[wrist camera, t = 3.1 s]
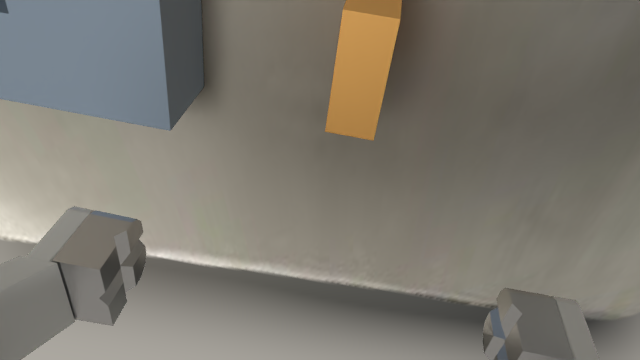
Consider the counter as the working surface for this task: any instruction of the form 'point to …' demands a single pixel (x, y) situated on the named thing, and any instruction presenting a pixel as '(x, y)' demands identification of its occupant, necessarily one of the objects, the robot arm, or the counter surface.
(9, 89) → the blue holed block
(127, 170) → the counter surface
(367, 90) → the orange rectangular block
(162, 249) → the counter surface
